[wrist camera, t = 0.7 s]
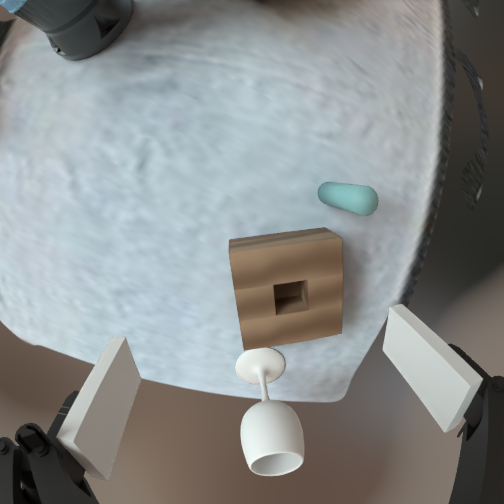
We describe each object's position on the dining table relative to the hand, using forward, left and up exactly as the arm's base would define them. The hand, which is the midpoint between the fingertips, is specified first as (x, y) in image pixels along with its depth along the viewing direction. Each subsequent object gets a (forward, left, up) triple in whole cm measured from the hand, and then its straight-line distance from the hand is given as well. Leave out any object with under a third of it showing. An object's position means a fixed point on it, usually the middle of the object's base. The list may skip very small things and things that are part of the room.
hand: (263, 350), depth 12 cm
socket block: (+8, +5, -28) cm, 29 cm away
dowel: (-4, +13, -28) cm, 31 cm away
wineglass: (+24, 0, -28) cm, 37 cm away
